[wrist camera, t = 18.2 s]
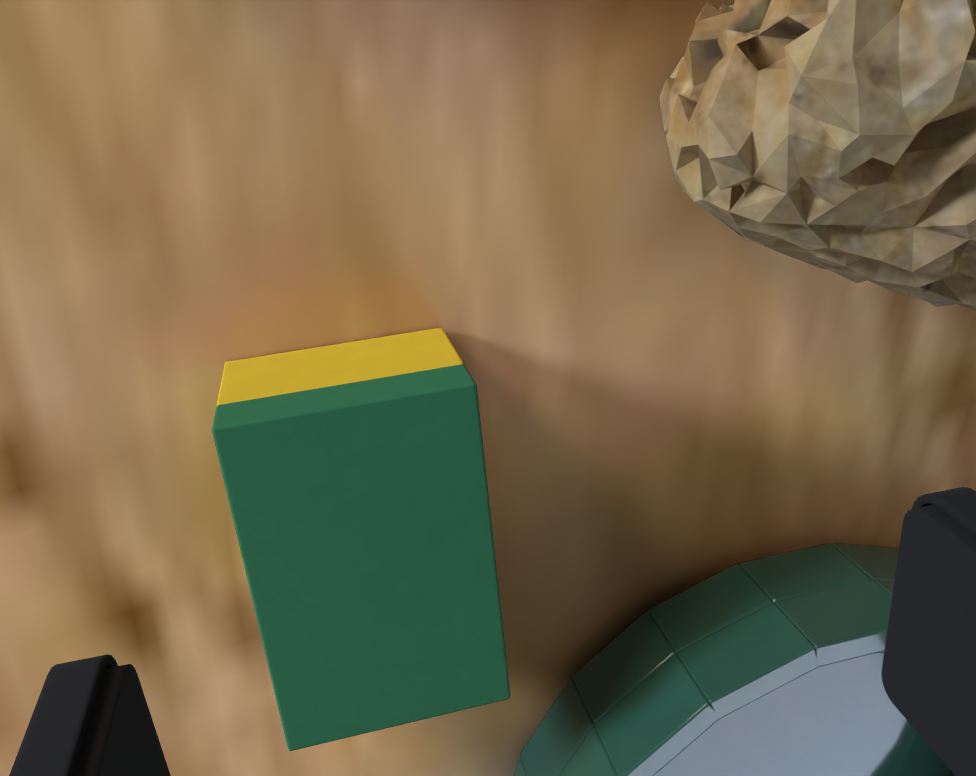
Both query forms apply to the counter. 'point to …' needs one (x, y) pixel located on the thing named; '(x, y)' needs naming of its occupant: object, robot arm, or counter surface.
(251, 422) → the small sponge
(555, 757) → the bowl
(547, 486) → the counter surface
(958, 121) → the sponge
